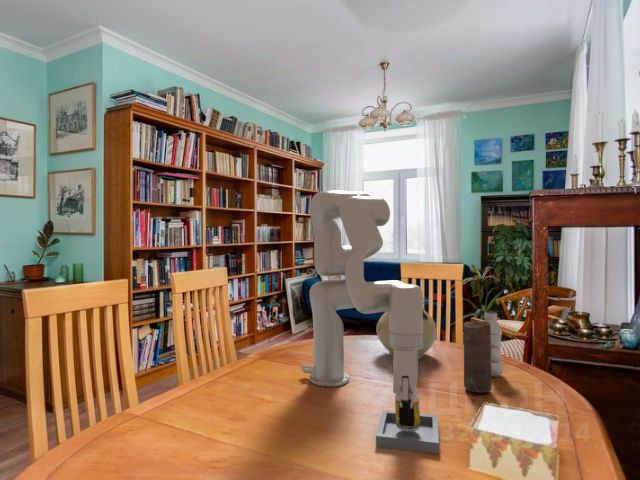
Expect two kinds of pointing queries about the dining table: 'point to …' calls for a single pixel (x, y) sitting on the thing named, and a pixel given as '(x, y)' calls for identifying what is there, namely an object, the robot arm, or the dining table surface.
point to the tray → (408, 434)
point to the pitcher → (428, 333)
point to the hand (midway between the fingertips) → (407, 418)
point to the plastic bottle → (495, 343)
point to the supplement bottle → (416, 413)
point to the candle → (477, 356)
